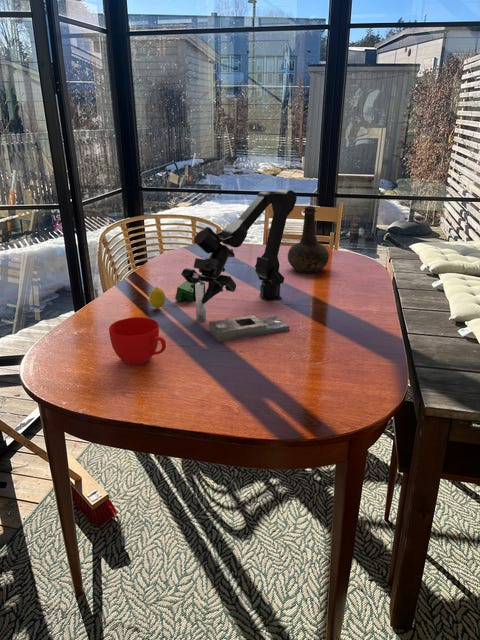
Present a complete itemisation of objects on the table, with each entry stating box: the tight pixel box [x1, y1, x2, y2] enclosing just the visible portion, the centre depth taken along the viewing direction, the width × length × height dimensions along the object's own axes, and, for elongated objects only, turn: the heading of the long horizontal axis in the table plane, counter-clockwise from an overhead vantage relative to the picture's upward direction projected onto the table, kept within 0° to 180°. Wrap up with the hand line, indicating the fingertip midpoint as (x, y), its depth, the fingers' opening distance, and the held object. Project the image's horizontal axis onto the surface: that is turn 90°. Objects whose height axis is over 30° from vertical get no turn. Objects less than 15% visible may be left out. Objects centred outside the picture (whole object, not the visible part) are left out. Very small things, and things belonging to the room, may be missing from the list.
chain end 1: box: [208, 314, 266, 343], centre depth 146 cm, size 16×9×3 cm, turn 112°
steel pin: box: [195, 281, 207, 323], centre depth 153 cm, size 3×3×12 cm
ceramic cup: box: [108, 316, 167, 366], centre depth 126 cm, size 13×17×10 cm
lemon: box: [148, 286, 166, 310], centre depth 163 cm, size 6×6×8 cm
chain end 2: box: [235, 315, 290, 340], centre depth 148 cm, size 18×9×2 cm, turn 112°
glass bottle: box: [287, 205, 330, 274], centre depth 206 cm, size 18×18×28 cm
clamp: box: [174, 280, 194, 302], centre depth 175 cm, size 12×6×9 cm, turn 156°
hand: (198, 302), depth 152 cm, fingers open, 3 cm apart
